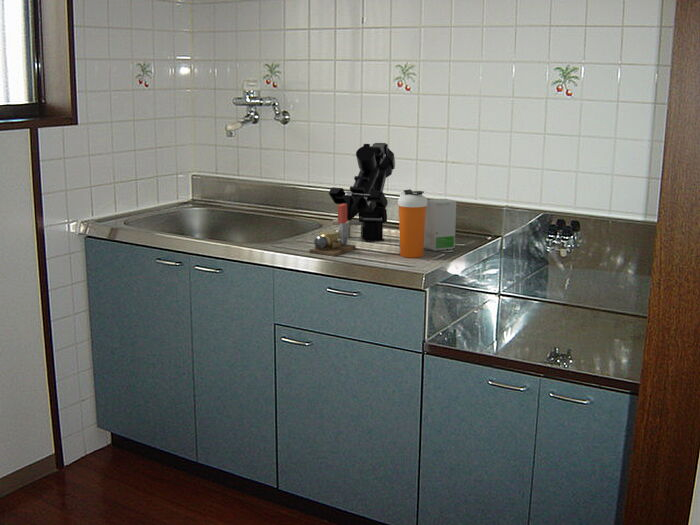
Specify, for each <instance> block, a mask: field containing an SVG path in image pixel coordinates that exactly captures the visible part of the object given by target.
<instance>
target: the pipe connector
mask: <svg viewBox="0 0 700 525" xmlns="http://www.w3.org/2000/svg"><path fill="white" fill-rule="evenodd" d="M361 225H362V222H359V219H352V220H348V222H346V227H347V239H349V238H351V226H361ZM332 226H340V223H338V219H332Z"/></svg>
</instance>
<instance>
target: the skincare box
mask: <svg viewBox="0 0 700 525" xmlns="http://www.w3.org/2000/svg"><path fill="white" fill-rule="evenodd" d="M426 199H427V198H426ZM456 218H457V200H453V199H448V198H432V199H431V198H430V199H427V207H426V222H425V236H424V249H427V250H431V251H445V250H446V251H447V249H448V250H454V249H453V248H456V224H457V221H456V220H457V219H456Z"/></svg>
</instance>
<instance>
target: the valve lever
mask: <svg viewBox="0 0 700 525" xmlns="http://www.w3.org/2000/svg"><path fill="white" fill-rule="evenodd" d="M337 220H338V223H340V225H339V230H340V244H341V245H346V244H347V243H348V238H347V227H346V222H348V219H347V204H346V203H345V204H337ZM347 245H348V244H347Z"/></svg>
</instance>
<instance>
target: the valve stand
mask: <svg viewBox="0 0 700 525" xmlns="http://www.w3.org/2000/svg"><path fill="white" fill-rule="evenodd" d="M313 243H314V248H310V249H309V250H308V252H310V253H309V254H313V253H316V255H322V256H330V257H335V256H336V257H337V256H339V255H341V254H344V253H347V252H350V251H353V250H355V249H356V245H354V244H346V245H341V244H340V229H338V230H324V231H321V232H319V233H318V236H316V237H315V239H314V241H313Z"/></svg>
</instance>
